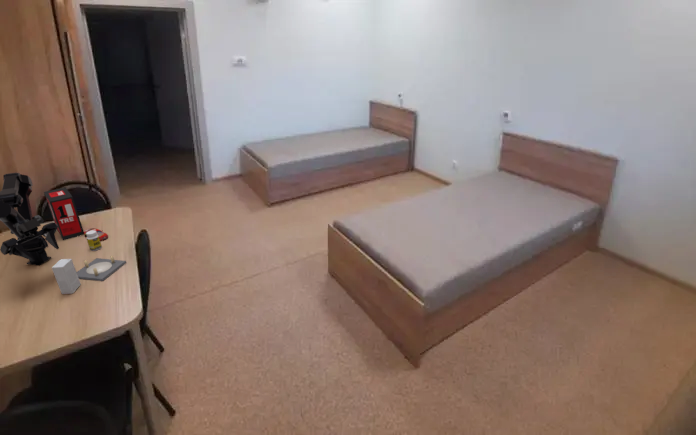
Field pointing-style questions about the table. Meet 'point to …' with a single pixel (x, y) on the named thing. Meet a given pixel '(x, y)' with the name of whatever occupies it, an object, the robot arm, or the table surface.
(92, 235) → the supplement bottle
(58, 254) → the table surface
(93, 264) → the pin cradle
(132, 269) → the table surface
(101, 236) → the race car
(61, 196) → the cleaning product box
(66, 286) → the skincare box
